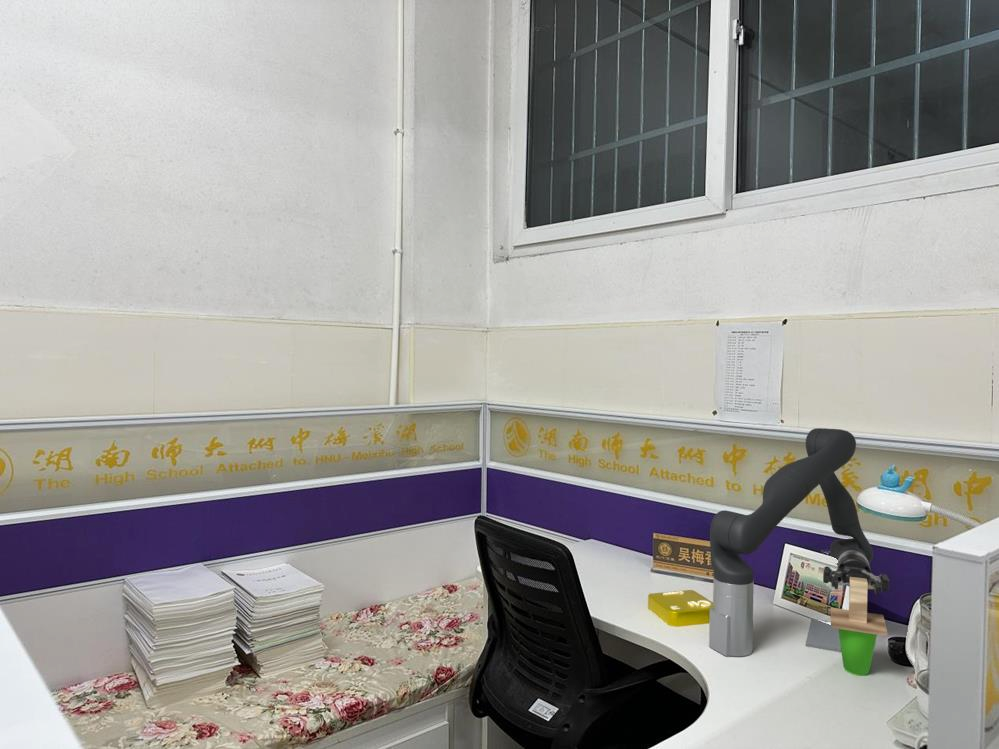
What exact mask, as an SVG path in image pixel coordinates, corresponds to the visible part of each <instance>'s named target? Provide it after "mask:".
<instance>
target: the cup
mask: <svg viewBox="0 0 999 749" xmlns="http://www.w3.org/2000/svg"><path fill="white" fill-rule="evenodd" d="M838 632H839V639H840V646H841V652H840V654H841V657H842V658H841V659H842V665H843V668H844V671H846V672H847V673H850V674H851V675H855V676H867V675H868V674H869V673H870V669H871V666H872V660H873V656H874V650H875V646H876V641H877V636H878V635H877V634H870V633H864V632H857V631H851V630H844V629H838Z"/></svg>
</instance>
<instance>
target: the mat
mask: <svg viewBox="0 0 999 749" xmlns="http://www.w3.org/2000/svg"><path fill="white" fill-rule="evenodd" d="M815 619H816V618H811V619H810V623H809V628H808V632H807V637H806V639H805V647H809V646H810V647H811V648H815V649H821V650H826V651H831V652H832V651H833V652H838V653H841V646H840V639H839V632H838V628H831V625H829V624H826V623H823V622H821V621H818V620H819V619H816V620H815Z"/></svg>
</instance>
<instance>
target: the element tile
mask: <svg viewBox="0 0 999 749" xmlns="http://www.w3.org/2000/svg"><path fill="white" fill-rule="evenodd" d="M711 608H713V601H711V600H709V599H708V598H706V597H705V596H704V595H702V594H700V593H699V592H697V591H695V590H692V589H686V590H685V589H684V590H676V591H664V592H663V591H662V592H652V593H649V594H648V596H647V609H648V610H649V611H650V610H651V611H652V612H653V613H652V612H651V611H650V612H651V613H652V614H654V613H655V614H656V615H657V616H658V617H657V616H656V615H655V614H654V615H655V616H656V617H657V618H658V619H660V618H661V619H662V620H663V621H662V620H661V619H660V620H661V621H662V622H664V623H665V624H666V623H667V625H668V626H670V627H673V626H674V627H673V628H675V627H676V628H677V627H679V628H680V627H688V626H697V625H706V624H709V623H710V609H711Z"/></svg>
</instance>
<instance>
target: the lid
mask: <svg viewBox="0 0 999 749" xmlns="http://www.w3.org/2000/svg"><path fill="white" fill-rule="evenodd" d="M848 588H849V589H848V590H849V591H848V592H849V593H848V609H844V608H838V607H830V610H829V612H830V622H831V628H838V629H844V630H851V631H857V632H864V633H870V634H877V636H883V637H887V636H888V630H887V625H886V621H885V617H884V614H879V613H871V612H868V590H869V589H868V583H867V579H864V578H856V577H850V581H849V586H848Z"/></svg>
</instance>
